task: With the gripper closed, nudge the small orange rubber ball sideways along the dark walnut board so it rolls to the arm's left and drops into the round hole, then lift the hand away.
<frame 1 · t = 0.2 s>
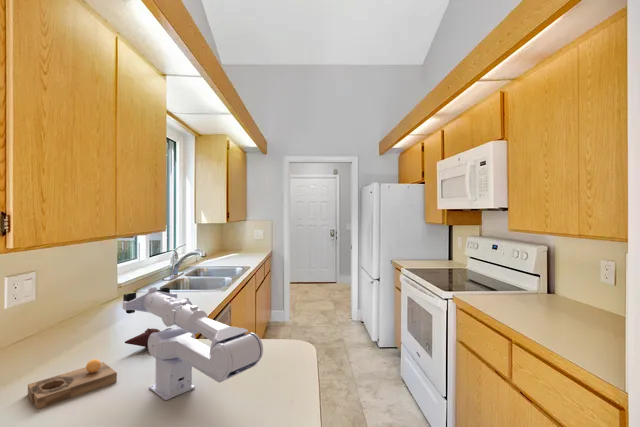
hand: (138, 295, 102), 21 cm above the counter, fingers open, 7 cm apart
ball: (93, 366, 93), point 4 cm above the counter, touching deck
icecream: (149, 349, 116), on the counter
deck: (73, 387, 90), on the counter
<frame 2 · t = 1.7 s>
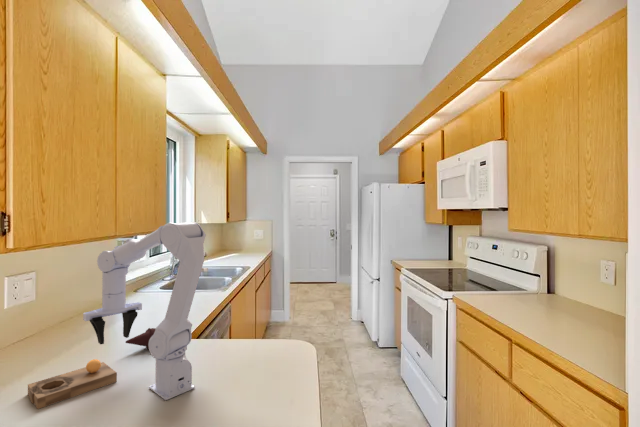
hand: (113, 340, 97), 10 cm above the counter, fingers open, 6 cm apart
nothing on the counter moved.
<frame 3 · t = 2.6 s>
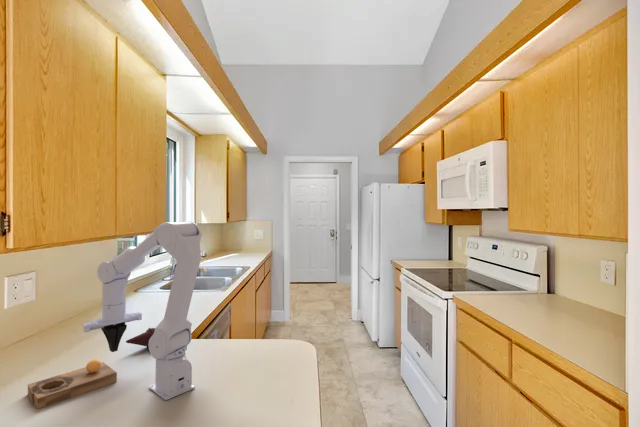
hand: (113, 350, 97), 7 cm above the counter, fingers closed
nothing on the counter moved.
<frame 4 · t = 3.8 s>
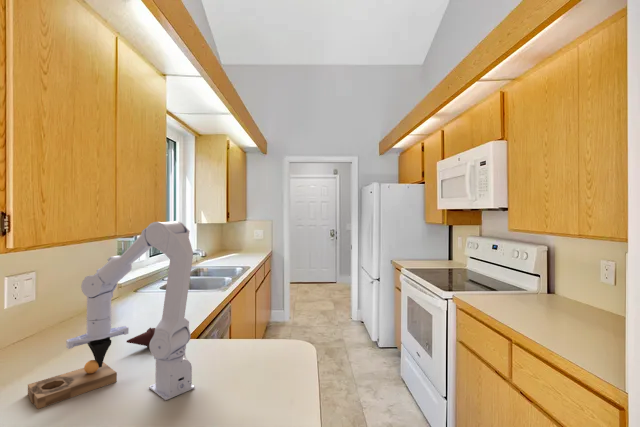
hand: (98, 366, 94), 4 cm above the counter, fingers closed, pressing on ball
ball: (91, 366, 93), point 4 cm above the counter, tilted 15°, touching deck, gripper
everything else where it was.
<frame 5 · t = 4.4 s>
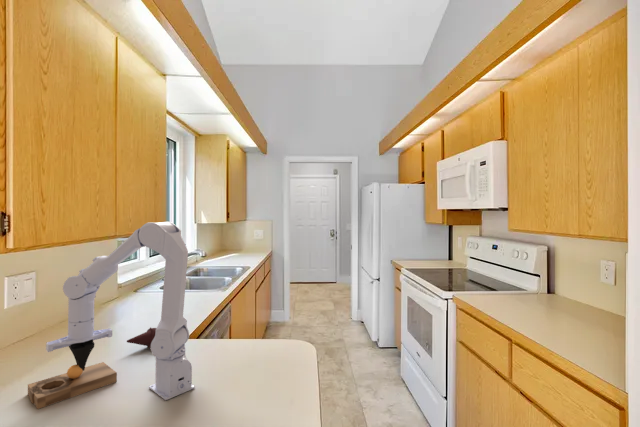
hand: (80, 369, 91), 4 cm above the counter, fingers closed, pressing on ball
ball: (75, 371, 90), point 4 cm above the counter, tilted 145°, touching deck, gripper
everything else where it was.
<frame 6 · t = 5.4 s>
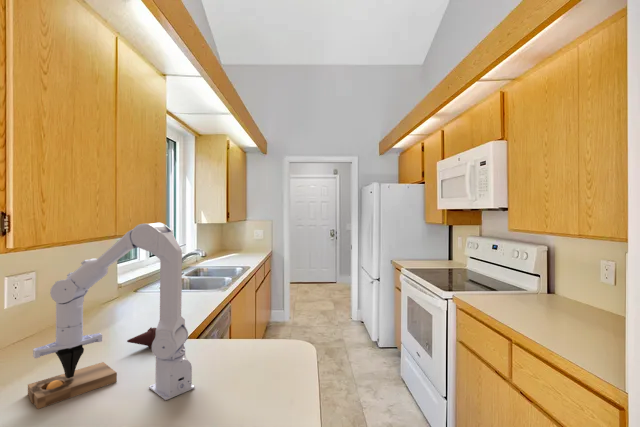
hand: (69, 376, 89), 3 cm above the counter, fingers closed
ball: (54, 387, 86), point 2 cm above the counter, tilted 115°
everything else where it was.
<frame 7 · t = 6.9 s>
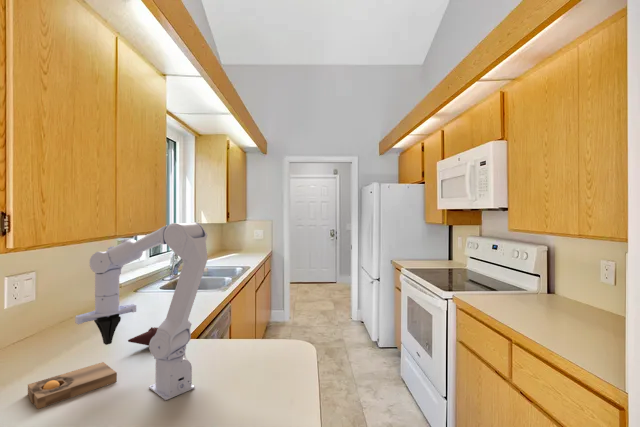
hand: (107, 343, 94), 10 cm above the counter, fingers closed
ball: (51, 387, 86), point 2 cm above the counter, tilted 93°
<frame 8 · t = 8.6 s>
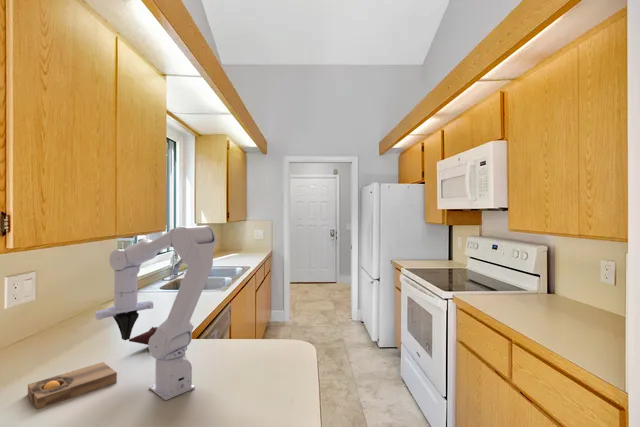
hand: (125, 338, 97), 10 cm above the counter, fingers closed
at the end: ball 0.4 cm from the target spot on the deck, point 1.7 cm above the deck's base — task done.
